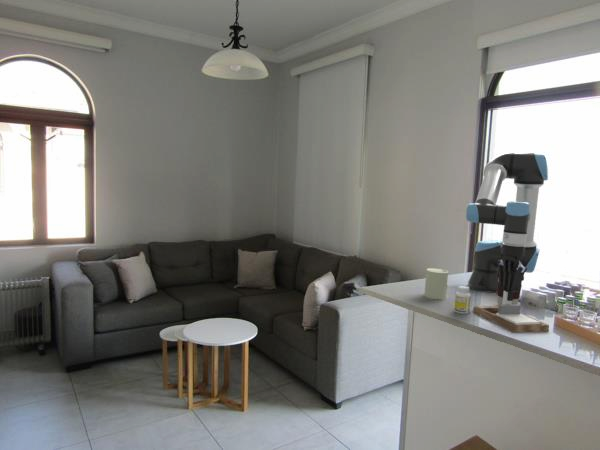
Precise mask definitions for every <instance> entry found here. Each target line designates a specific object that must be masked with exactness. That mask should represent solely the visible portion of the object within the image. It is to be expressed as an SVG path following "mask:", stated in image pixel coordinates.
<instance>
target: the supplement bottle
mask: <svg viewBox="0 0 600 450" xmlns="http://www.w3.org/2000/svg"><path fill="white" fill-rule="evenodd" d="M471 296H472V295H471V293H470V288H469V287H468V286H467V285H466V286H465V285H459V286H458V287H457V291H456V292H455V296H454V297H455V299H454V312H456V313H457V314H462V315H467V314H470V307H471V298H472V297H471Z"/></svg>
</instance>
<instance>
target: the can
mask: <svg viewBox="0 0 600 450" xmlns="http://www.w3.org/2000/svg"><path fill="white" fill-rule="evenodd" d="M425 272H426V273H425V284H424V294H423V295H424V297H426V298H427V299H432V300H437V299H439V300H440V301H441V300H442V299H443V300H447V289H448V288H447V287H448V279H449V271H448V270H446V269H442V268H433V267H432V268H431V267H430V268H429V267H428V268H426V271H425ZM439 300H438V301H439Z"/></svg>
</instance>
